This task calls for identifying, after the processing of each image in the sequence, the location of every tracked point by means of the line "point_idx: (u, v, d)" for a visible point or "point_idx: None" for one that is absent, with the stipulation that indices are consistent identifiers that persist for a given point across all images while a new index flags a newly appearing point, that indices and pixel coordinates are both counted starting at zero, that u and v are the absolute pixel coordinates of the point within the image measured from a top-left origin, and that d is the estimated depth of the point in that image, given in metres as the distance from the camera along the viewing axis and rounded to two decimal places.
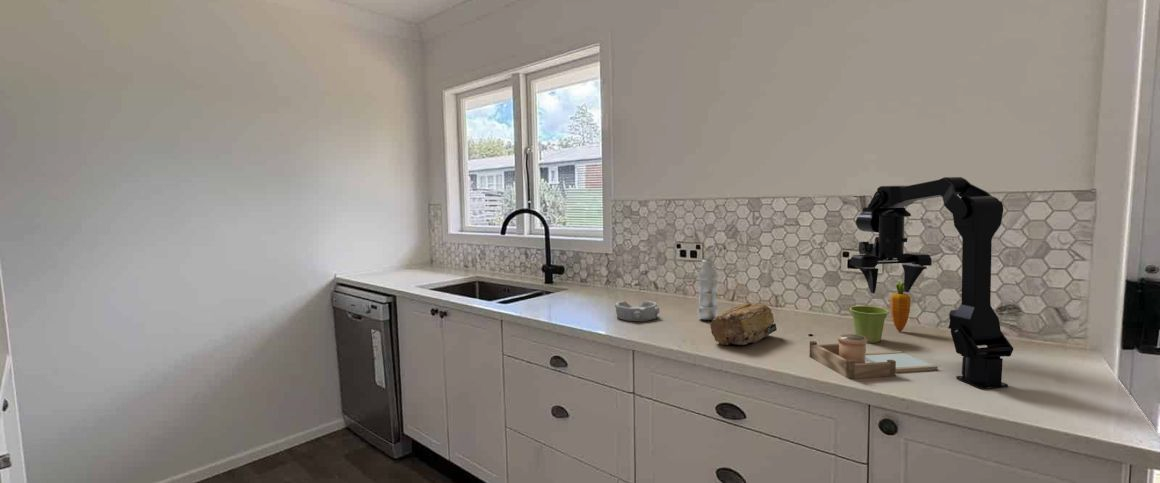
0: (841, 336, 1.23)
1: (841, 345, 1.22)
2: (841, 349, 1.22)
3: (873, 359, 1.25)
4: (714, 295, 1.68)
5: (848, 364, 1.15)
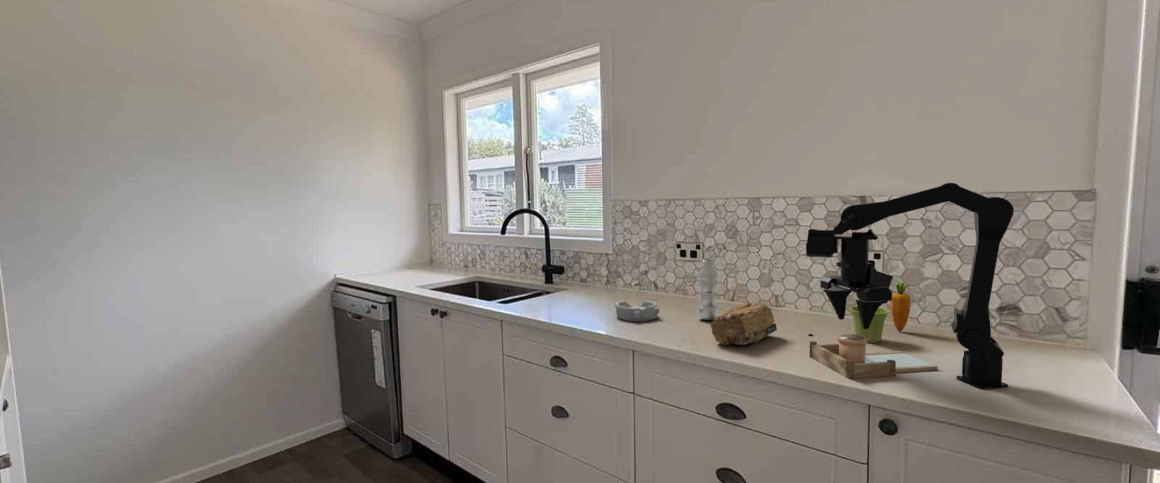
0: (841, 336, 1.23)
1: (841, 345, 1.22)
2: (841, 349, 1.22)
3: (873, 359, 1.25)
4: (714, 295, 1.68)
5: (848, 364, 1.15)
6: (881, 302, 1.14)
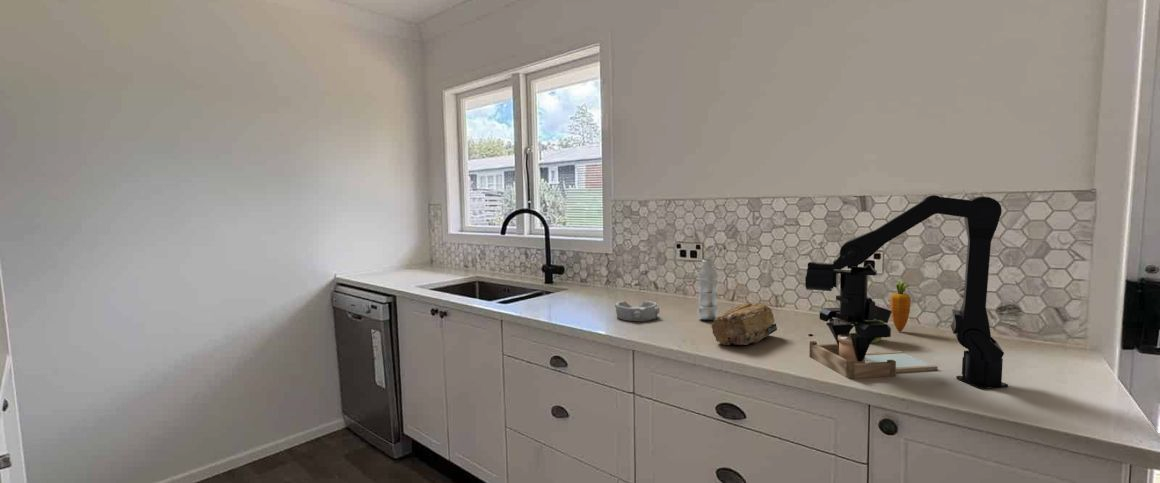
0: (841, 336, 1.23)
1: (841, 345, 1.22)
2: (841, 349, 1.22)
3: (873, 359, 1.25)
4: (714, 295, 1.68)
5: (848, 364, 1.15)
6: None
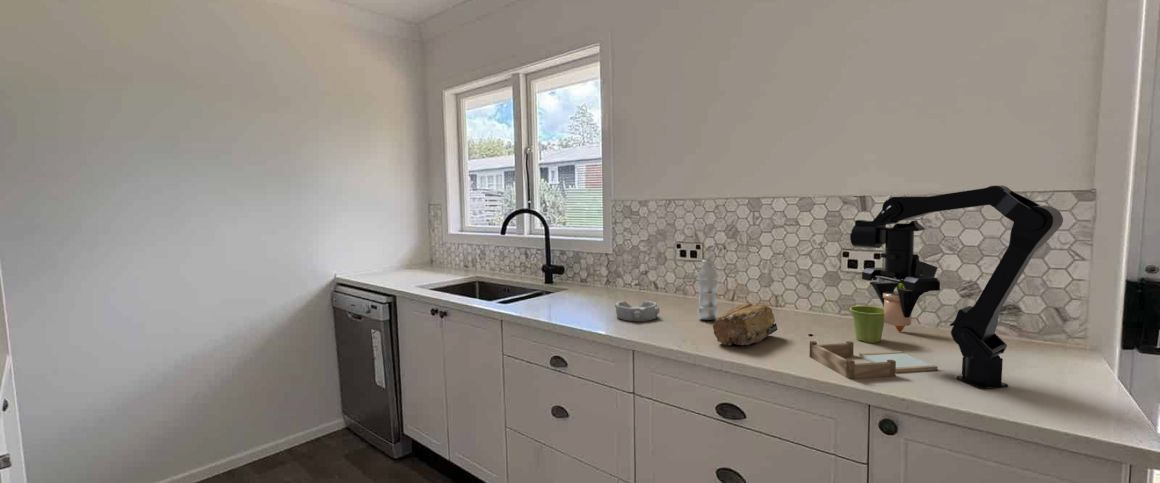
0: (886, 293, 1.23)
1: (887, 302, 1.23)
2: (887, 306, 1.23)
3: (873, 359, 1.25)
4: (714, 295, 1.68)
5: (848, 364, 1.15)
6: (923, 291, 1.16)
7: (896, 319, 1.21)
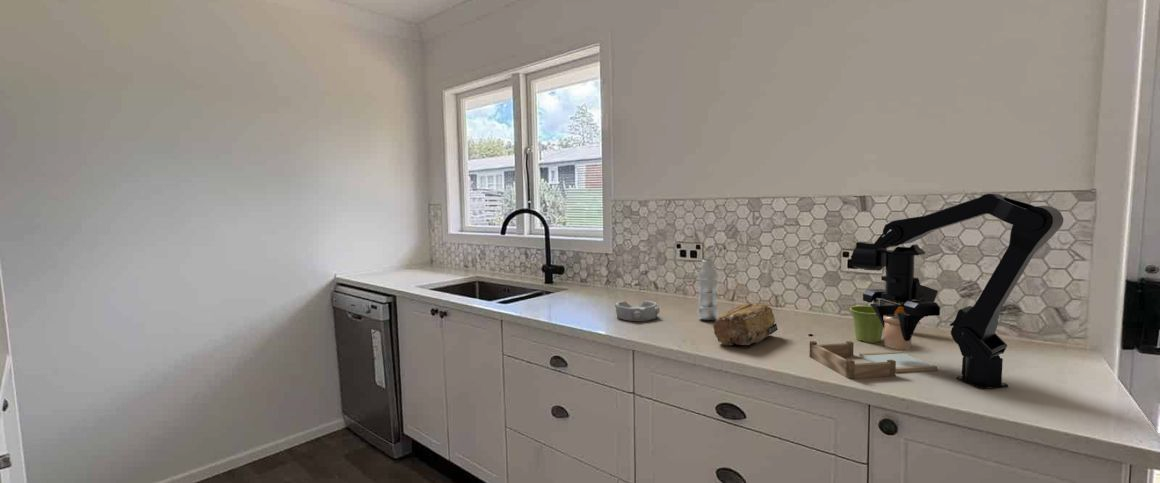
0: (887, 316, 1.24)
1: (887, 325, 1.23)
2: (887, 329, 1.23)
3: (873, 359, 1.25)
4: (714, 295, 1.68)
5: (848, 364, 1.15)
6: (923, 315, 1.17)
7: (897, 342, 1.22)
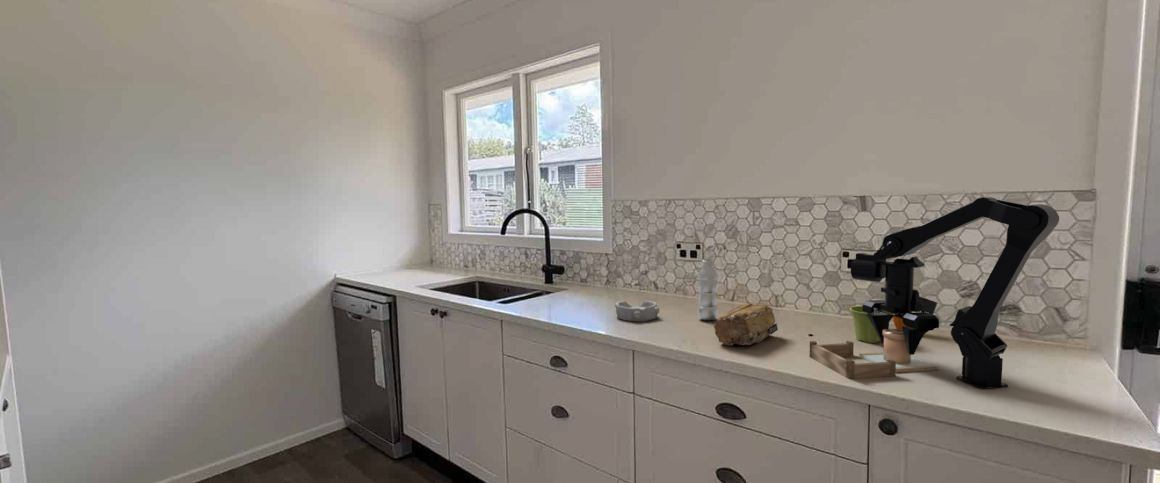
0: (886, 331, 1.24)
1: (886, 340, 1.24)
2: (887, 344, 1.23)
3: (873, 359, 1.25)
4: (714, 295, 1.68)
5: (848, 364, 1.15)
6: (928, 329, 1.16)
7: (896, 358, 1.22)
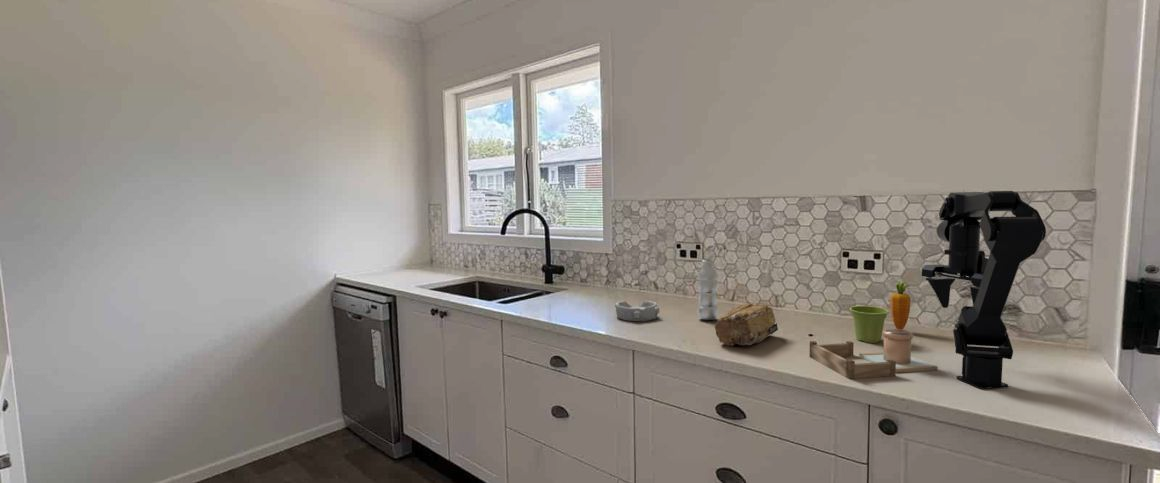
0: (886, 331, 1.24)
1: (886, 340, 1.24)
2: (887, 344, 1.23)
3: (873, 359, 1.25)
4: (714, 295, 1.68)
5: (848, 364, 1.15)
6: None
7: (896, 358, 1.22)
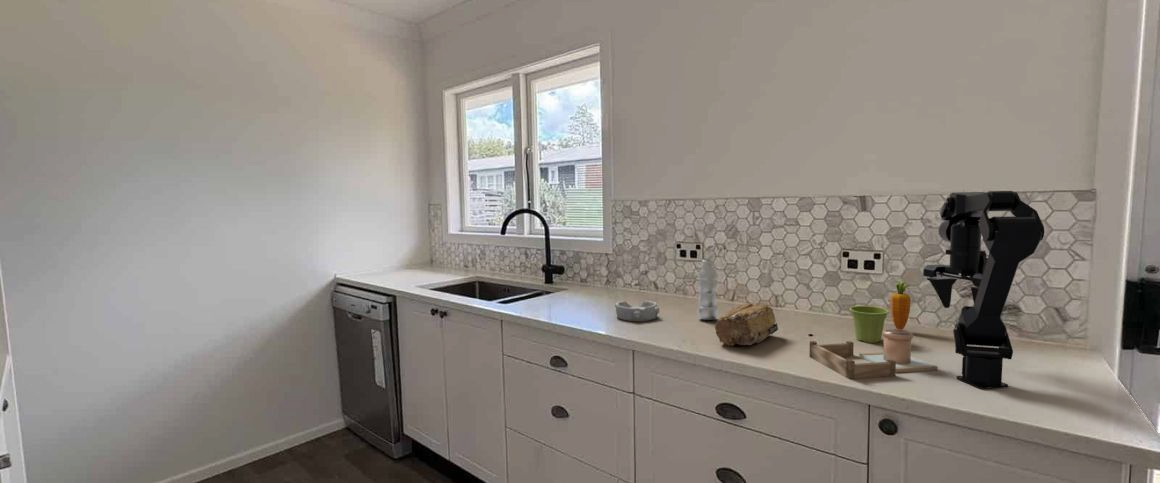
0: (886, 331, 1.24)
1: (886, 340, 1.24)
2: (887, 344, 1.23)
3: (873, 359, 1.25)
4: (714, 295, 1.68)
5: (848, 364, 1.15)
6: None
7: (896, 358, 1.22)
